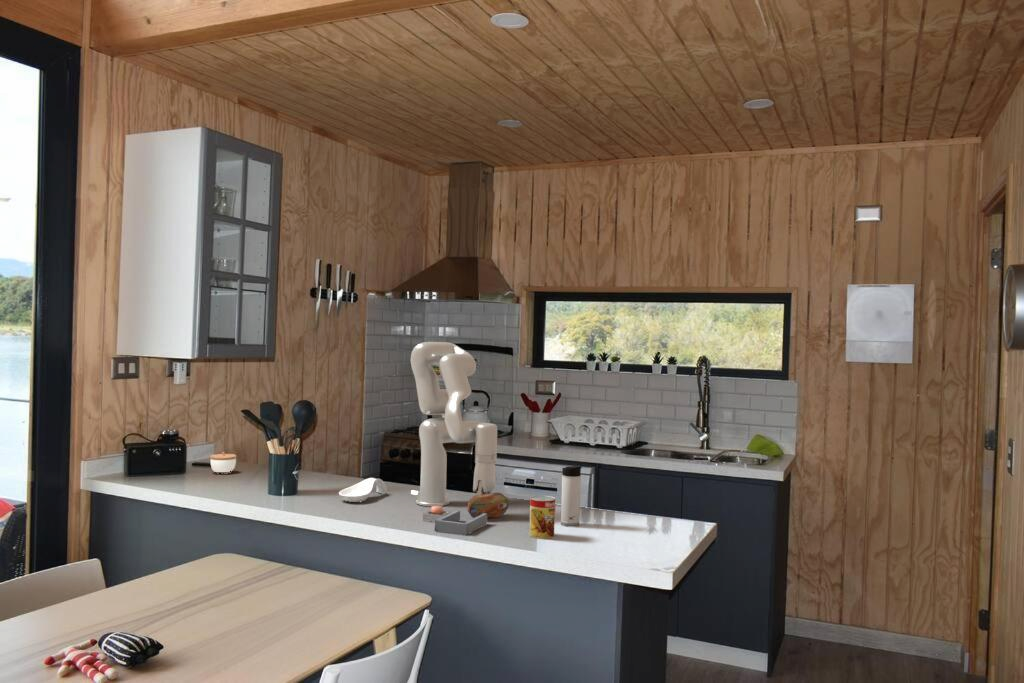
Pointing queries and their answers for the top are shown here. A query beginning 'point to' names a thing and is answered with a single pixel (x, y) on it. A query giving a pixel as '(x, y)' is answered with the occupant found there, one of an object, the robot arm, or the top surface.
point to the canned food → (542, 517)
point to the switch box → (434, 516)
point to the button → (437, 510)
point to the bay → (452, 526)
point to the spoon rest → (362, 490)
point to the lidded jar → (223, 462)
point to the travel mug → (570, 496)
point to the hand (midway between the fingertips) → (484, 511)
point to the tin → (488, 505)
